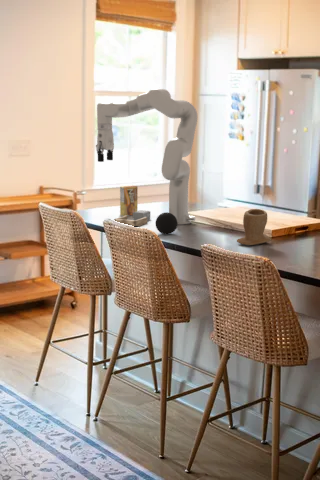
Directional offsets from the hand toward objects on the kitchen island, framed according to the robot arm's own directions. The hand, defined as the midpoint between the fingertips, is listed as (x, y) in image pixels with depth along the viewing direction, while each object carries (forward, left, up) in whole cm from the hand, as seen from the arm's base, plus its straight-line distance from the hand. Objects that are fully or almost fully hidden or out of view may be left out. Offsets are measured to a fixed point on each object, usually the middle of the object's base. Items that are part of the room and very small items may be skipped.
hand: (105, 160), depth 371 cm
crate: (-22, +2, -30) cm, 37 cm away
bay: (-22, +14, -29) cm, 39 cm away
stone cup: (-93, +36, -30) cm, 104 cm away
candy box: (-8, -11, -30) cm, 32 cm away
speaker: (-49, +31, -30) cm, 65 cm away
